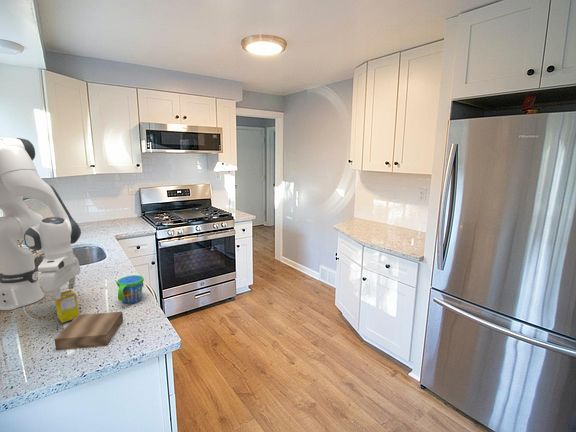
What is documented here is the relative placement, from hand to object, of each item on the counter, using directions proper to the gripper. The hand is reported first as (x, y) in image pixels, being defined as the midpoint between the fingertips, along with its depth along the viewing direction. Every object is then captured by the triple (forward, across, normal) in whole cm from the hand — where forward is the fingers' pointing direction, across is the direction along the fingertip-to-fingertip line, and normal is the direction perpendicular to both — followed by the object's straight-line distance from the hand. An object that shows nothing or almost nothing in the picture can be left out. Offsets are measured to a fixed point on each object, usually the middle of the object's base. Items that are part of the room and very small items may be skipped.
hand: (65, 293), depth 120 cm
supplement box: (+12, 0, -1) cm, 12 cm away
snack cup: (+12, -14, +19) cm, 26 cm away
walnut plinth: (+12, +12, +13) cm, 22 cm away
